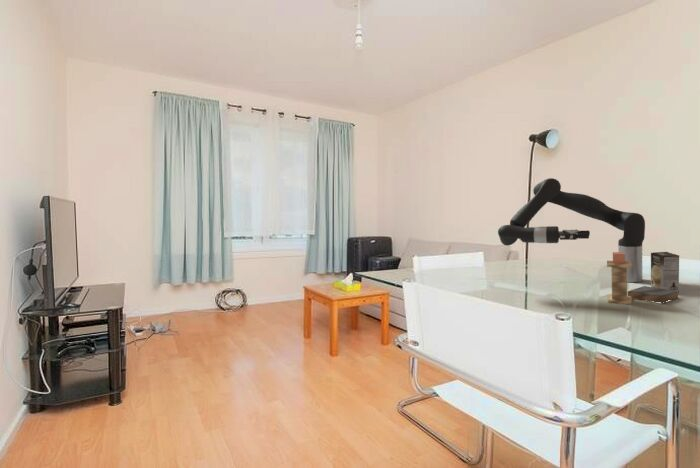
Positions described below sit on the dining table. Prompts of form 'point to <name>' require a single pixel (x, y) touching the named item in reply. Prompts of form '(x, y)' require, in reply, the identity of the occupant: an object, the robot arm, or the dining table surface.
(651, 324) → the dining table surface
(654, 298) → the dock
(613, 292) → the wooden pedestal
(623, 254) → the block
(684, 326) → the dining table surface
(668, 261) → the coffee box
